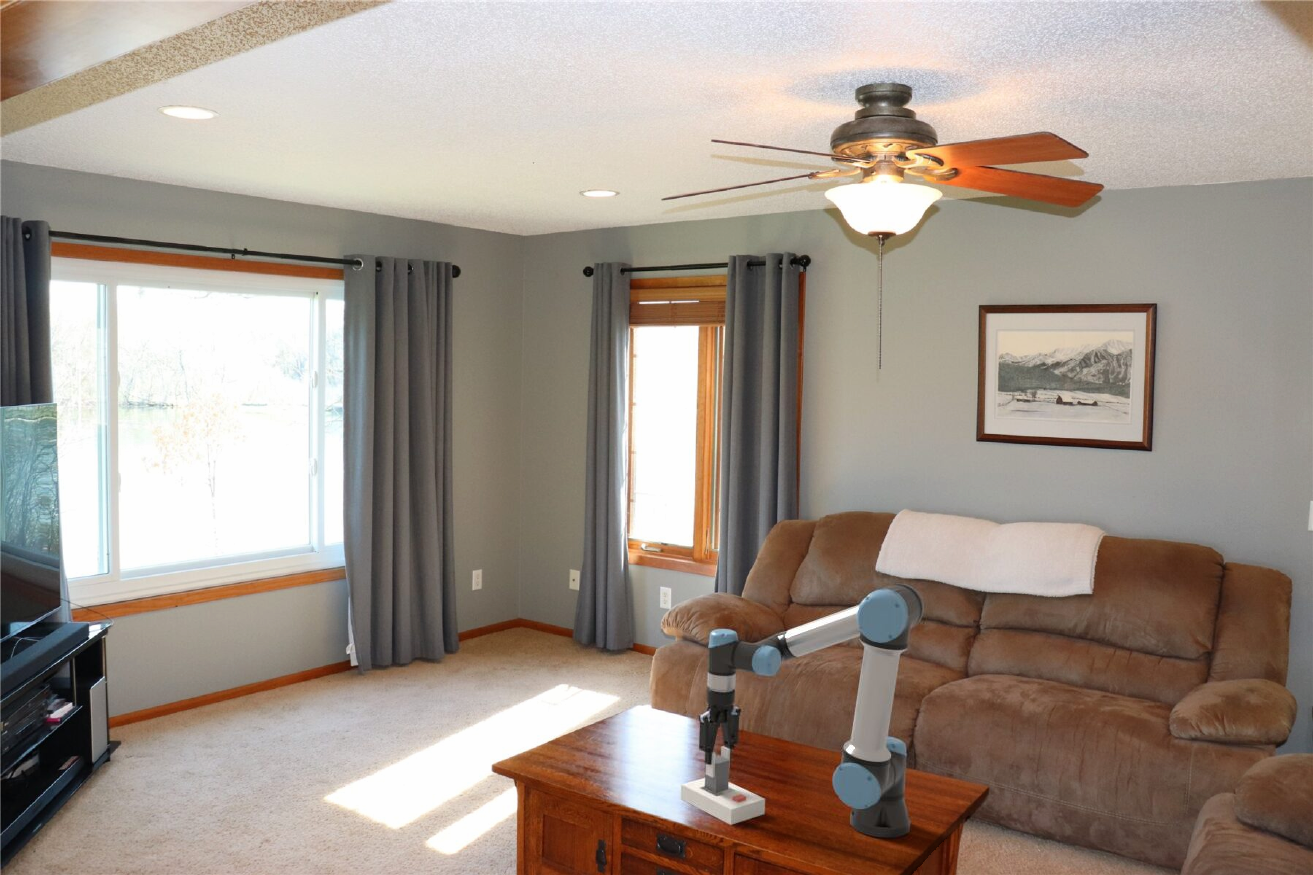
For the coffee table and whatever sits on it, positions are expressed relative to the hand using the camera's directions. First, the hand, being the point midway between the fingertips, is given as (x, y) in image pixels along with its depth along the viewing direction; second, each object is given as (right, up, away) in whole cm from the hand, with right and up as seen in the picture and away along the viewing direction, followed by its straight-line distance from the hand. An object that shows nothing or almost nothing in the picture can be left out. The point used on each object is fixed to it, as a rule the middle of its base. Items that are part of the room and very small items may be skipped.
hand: (717, 773), depth 280 cm
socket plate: (+1, -8, -1) cm, 9 cm away
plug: (0, -4, +1) cm, 4 cm away
